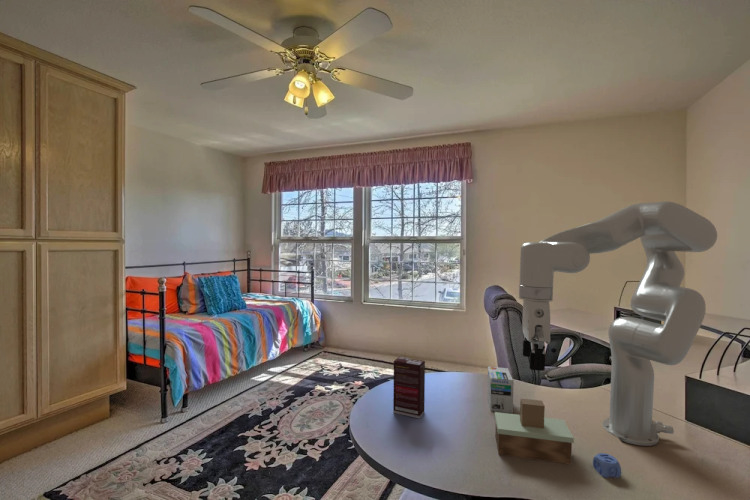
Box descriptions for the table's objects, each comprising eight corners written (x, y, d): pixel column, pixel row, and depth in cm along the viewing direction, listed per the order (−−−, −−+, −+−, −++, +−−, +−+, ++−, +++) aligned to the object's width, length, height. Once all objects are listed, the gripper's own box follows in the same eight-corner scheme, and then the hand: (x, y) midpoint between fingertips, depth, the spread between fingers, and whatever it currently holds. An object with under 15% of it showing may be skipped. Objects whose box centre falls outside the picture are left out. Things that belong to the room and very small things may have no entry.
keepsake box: (561, 448, 94) (562, 424, 93) (570, 467, 86) (571, 442, 86) (495, 439, 97) (495, 417, 97) (498, 457, 89) (499, 433, 89)
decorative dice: (609, 469, 85) (609, 452, 85) (621, 481, 81) (621, 463, 81) (592, 469, 85) (592, 452, 85) (603, 481, 81) (604, 463, 81)
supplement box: (424, 412, 112) (425, 360, 111) (419, 419, 107) (420, 365, 106) (398, 406, 115) (398, 355, 115) (392, 413, 111) (393, 360, 110)
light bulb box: (513, 415, 110) (514, 380, 110) (489, 413, 111) (490, 378, 111) (507, 400, 121) (508, 367, 120) (486, 398, 122) (487, 365, 121)
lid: (563, 424, 94) (564, 398, 93) (573, 443, 85) (574, 414, 85) (494, 416, 97) (495, 391, 97) (497, 433, 89) (498, 406, 89)
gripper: (562, 300, 81) (558, 377, 81) (544, 289, 97) (541, 353, 98) (525, 298, 82) (522, 374, 83) (514, 287, 99) (512, 350, 100)
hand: (533, 362), depth 91 cm, fingers open, 9 cm apart
